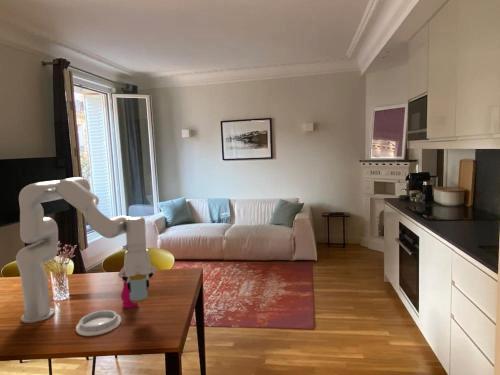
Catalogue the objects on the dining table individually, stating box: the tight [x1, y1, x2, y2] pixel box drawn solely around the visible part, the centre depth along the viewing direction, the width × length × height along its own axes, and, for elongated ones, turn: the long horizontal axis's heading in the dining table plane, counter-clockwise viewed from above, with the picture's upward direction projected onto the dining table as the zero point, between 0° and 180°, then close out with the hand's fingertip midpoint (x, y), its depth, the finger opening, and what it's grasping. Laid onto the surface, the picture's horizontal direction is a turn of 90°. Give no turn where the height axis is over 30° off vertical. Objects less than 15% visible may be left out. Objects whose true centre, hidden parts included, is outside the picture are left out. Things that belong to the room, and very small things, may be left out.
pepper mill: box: [120, 267, 138, 309], centre depth 161 cm, size 7×7×20 cm
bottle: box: [130, 266, 149, 304], centre depth 146 cm, size 7×7×15 cm
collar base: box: [75, 309, 122, 337], centre depth 144 cm, size 17×17×3 cm
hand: (138, 289), depth 146 cm, fingers closed on bottle, 5 cm apart
